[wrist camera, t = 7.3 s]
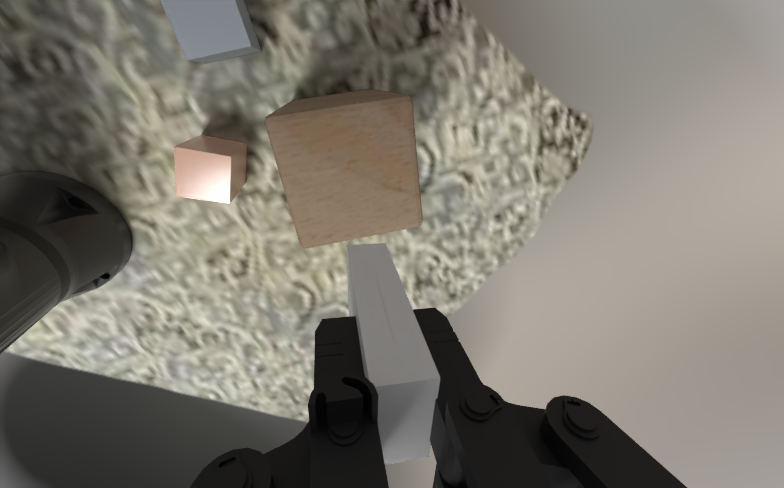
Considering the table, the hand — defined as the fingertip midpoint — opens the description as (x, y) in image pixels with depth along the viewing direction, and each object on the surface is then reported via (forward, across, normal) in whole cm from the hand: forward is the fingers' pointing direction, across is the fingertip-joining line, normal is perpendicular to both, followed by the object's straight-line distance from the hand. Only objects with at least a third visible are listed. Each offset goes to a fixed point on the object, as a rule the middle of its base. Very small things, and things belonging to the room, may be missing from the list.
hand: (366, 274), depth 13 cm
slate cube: (+33, -11, +12) cm, 36 cm away
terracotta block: (+32, -13, -2) cm, 35 cm away
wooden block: (+33, +1, +1) cm, 33 cm away
